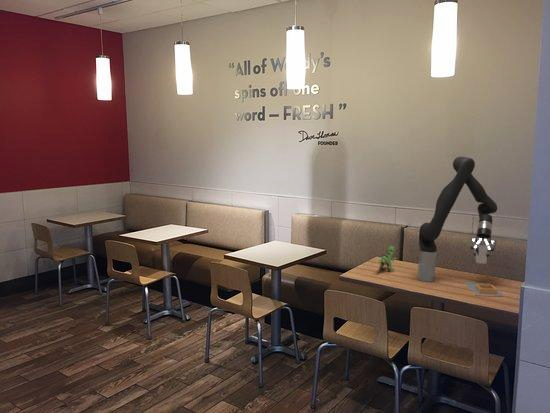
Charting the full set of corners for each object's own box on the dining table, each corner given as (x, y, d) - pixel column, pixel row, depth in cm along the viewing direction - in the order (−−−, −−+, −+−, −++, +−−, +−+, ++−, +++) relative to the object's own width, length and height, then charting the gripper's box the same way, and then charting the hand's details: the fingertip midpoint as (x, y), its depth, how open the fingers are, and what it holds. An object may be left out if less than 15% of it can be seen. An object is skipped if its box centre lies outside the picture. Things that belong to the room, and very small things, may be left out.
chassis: (475, 295, 259) (475, 289, 259) (464, 283, 281) (464, 277, 280) (503, 297, 258) (503, 290, 257) (489, 284, 279) (490, 278, 279)
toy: (395, 267, 314) (396, 244, 311) (398, 276, 293) (399, 252, 291) (376, 266, 315) (377, 243, 313) (378, 275, 294) (379, 251, 292)
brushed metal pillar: (477, 263, 272) (479, 245, 271) (475, 261, 276) (476, 243, 275) (486, 263, 272) (487, 245, 270) (483, 261, 276) (485, 244, 275)
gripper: (470, 225, 281) (467, 250, 272) (498, 228, 275) (495, 253, 266) (470, 233, 287) (467, 257, 278) (498, 236, 280) (495, 261, 271)
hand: (481, 255), depth 272 cm, fingers closed on brushed metal pillar, 5 cm apart
